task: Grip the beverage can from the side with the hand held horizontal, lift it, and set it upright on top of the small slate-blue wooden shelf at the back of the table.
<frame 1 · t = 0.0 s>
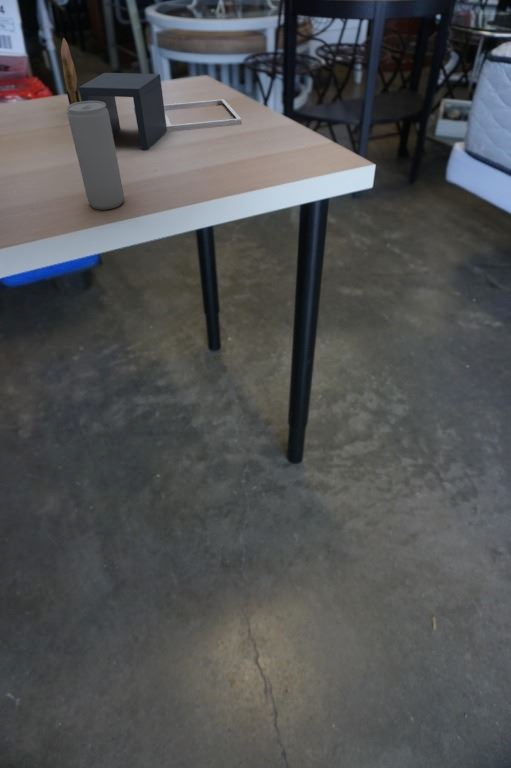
photo frame: (186, 119, 101), on the table, touching shelf
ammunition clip: (78, 114, 104), on the table
shelf: (130, 139, 92), on the table
beverage can: (107, 205, 71), on the table
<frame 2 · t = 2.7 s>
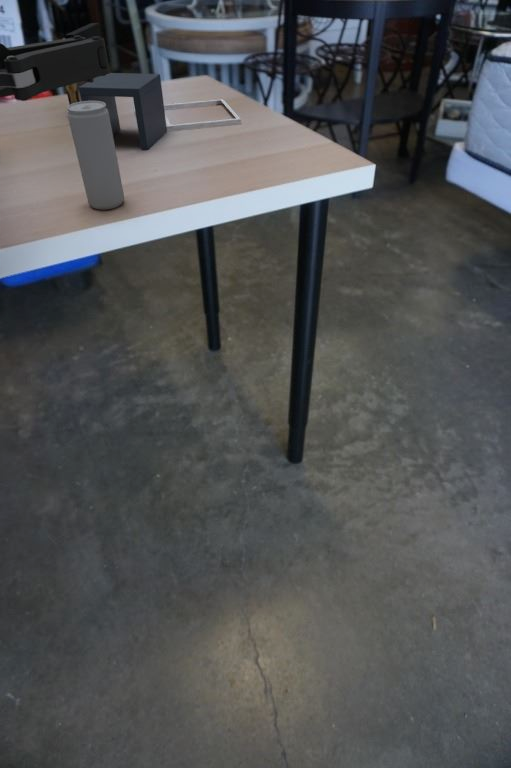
hand: (29, 40, 50), 20 cm above the table, tool horizontal, fingers open, 13 cm apart
nothing on the table moved.
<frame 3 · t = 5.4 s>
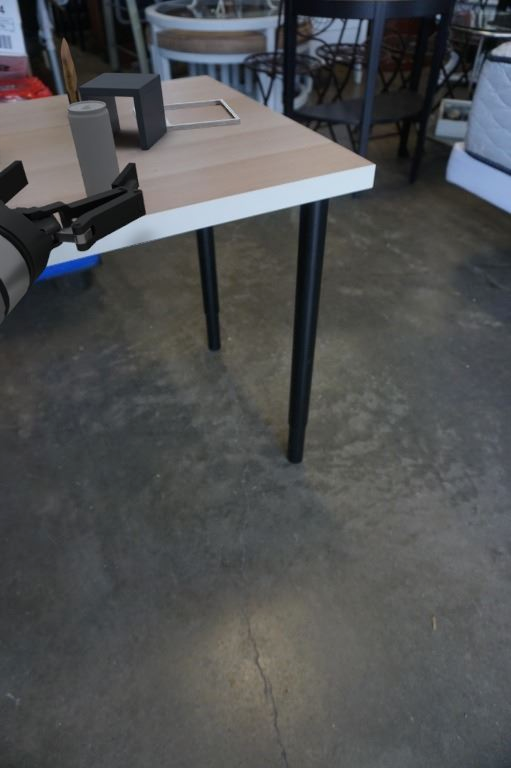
hand: (77, 173, 62), 6 cm above the table, tool horizontal, fingers open, 13 cm apart
photo frame: (185, 119, 101), on the table
everything else where it was.
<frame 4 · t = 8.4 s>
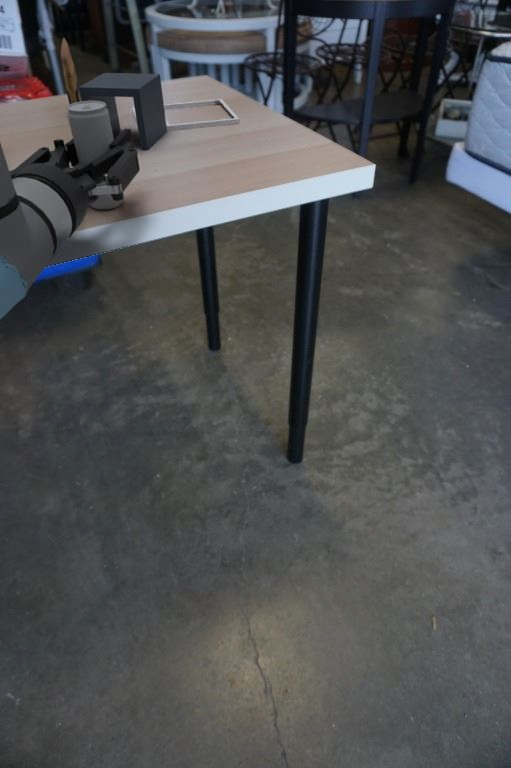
hand: (109, 139, 71), 7 cm above the table, tool horizontal, fingers closed on beverage can, 5 cm apart
photo frame: (184, 119, 101), on the table, touching shelf
beverage can: (107, 205, 71), on the table, touching gripper
everything else where it was.
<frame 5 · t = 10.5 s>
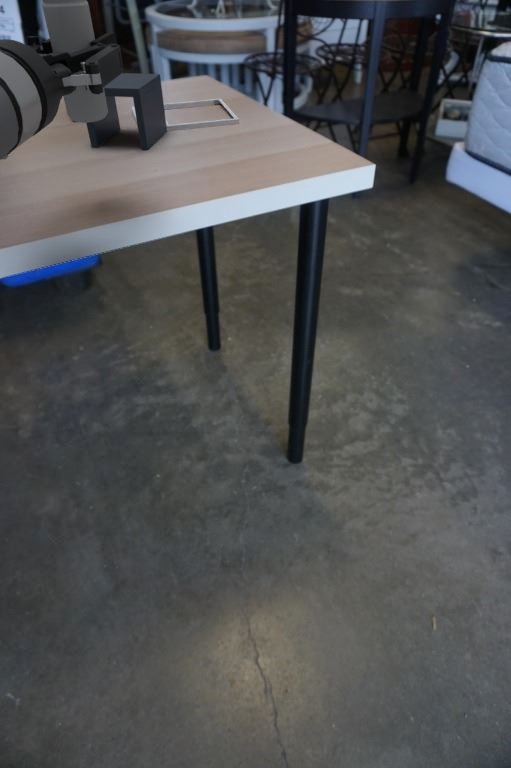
hand: (91, 45, 64), 17 cm above the table, tool horizontal, fingers closed on beverage can, 5 cm apart
beverage can: (89, 119, 64), point 10 cm above the table, touching gripper
everything else where it was.
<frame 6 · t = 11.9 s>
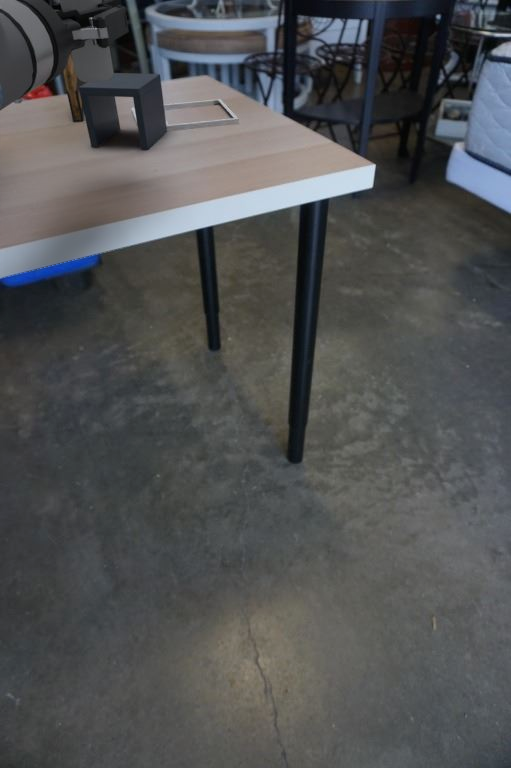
hand: (98, 10, 68), 20 cm above the table, tool horizontal, fingers closed on beverage can, 5 cm apart
beverage can: (96, 80, 69), point 13 cm above the table, touching gripper
everything else where it was.
when the fingers open (16 cm above the table, at t = 15.9 s): beverage can stays where it is, resting on shelf.
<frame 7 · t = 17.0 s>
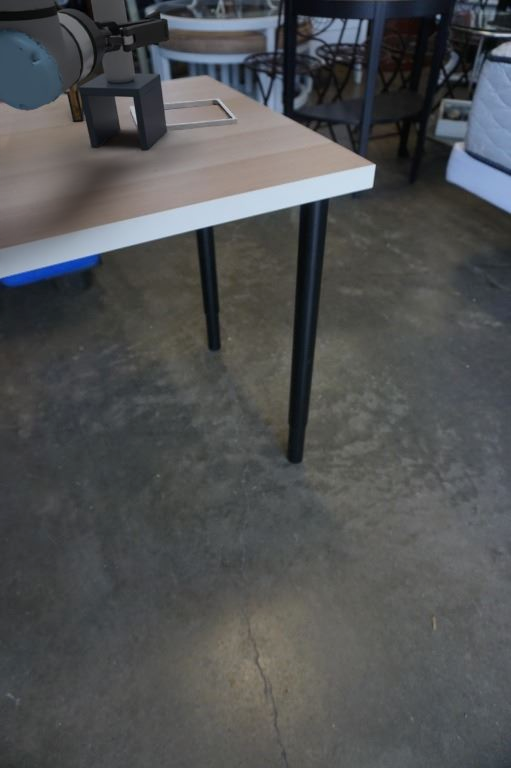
hand: (116, 21, 83), 16 cm above the table, tool horizontal, fingers open, 13 cm apart
beverage can: (121, 81, 86), point 9 cm above the table, touching shelf
everything else where it was.
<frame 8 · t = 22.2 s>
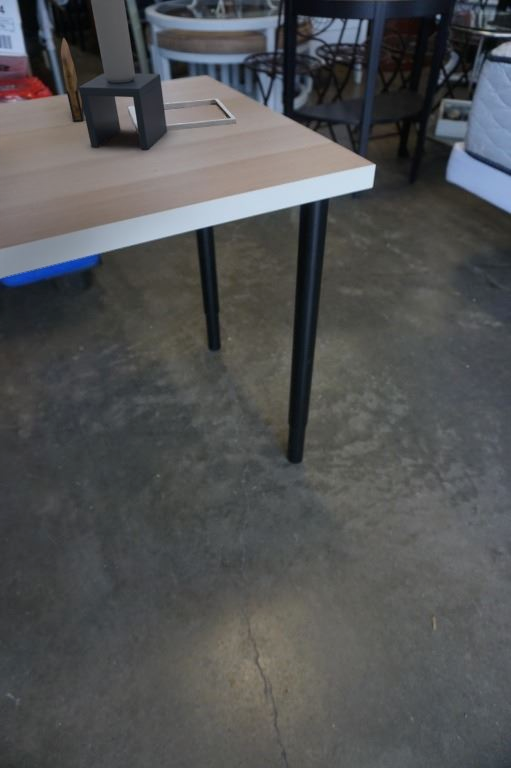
nothing on the table moved.
at the end: beverage can inside the target area on the shelf (0.1 cm from its centre), point 8.8 cm above the shelf's base; beverage can tilted 0°; the gripper is holding nothing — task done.
